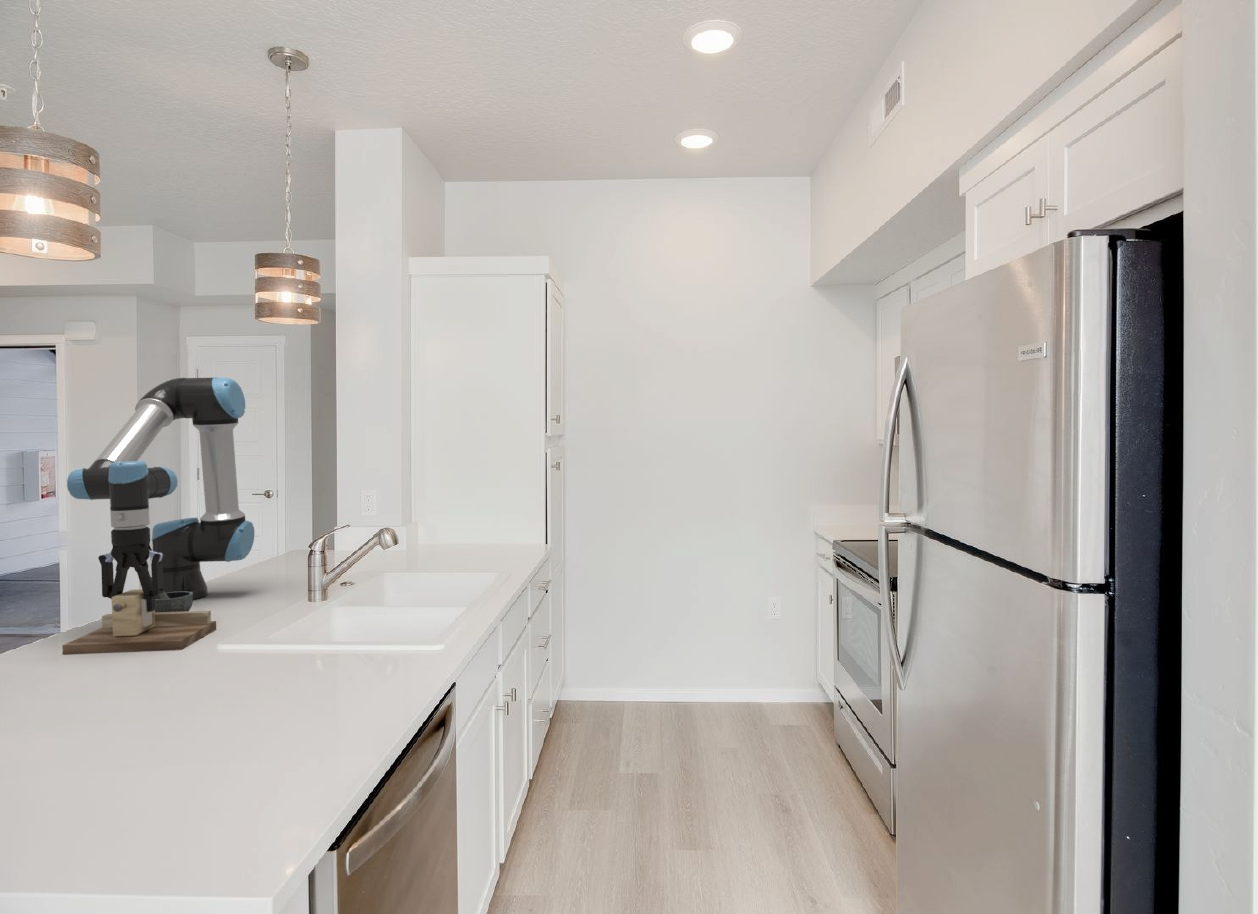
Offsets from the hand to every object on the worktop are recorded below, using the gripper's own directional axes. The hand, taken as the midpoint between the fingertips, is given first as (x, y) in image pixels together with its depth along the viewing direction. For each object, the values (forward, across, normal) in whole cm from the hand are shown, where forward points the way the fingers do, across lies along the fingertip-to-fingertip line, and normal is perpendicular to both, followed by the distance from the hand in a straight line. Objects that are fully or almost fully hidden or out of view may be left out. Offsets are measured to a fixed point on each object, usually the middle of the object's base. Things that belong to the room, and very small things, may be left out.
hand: (134, 625), depth 173 cm
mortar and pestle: (+4, -1, +17) cm, 17 cm away
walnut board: (+4, +2, 0) cm, 4 cm away
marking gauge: (+1, 0, 0) cm, 1 cm away
